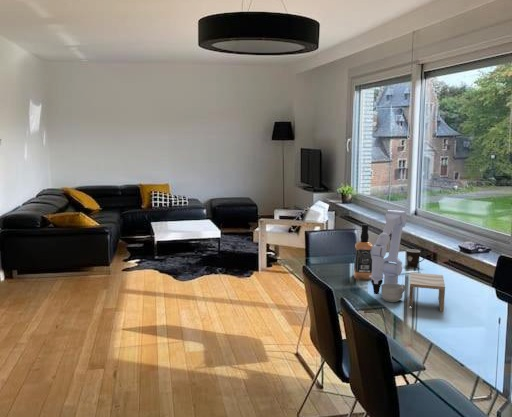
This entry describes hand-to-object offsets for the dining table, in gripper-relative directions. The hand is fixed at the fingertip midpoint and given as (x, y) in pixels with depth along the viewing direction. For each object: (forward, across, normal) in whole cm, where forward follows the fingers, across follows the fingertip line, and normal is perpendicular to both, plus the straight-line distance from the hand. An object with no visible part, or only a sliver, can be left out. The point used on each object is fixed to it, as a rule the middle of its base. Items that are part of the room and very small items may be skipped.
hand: (376, 293), depth 269 cm
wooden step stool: (+2, 0, +24) cm, 25 cm away
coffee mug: (+3, -75, +18) cm, 77 cm away
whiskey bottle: (+3, -38, -11) cm, 40 cm away
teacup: (+3, 0, +9) cm, 9 cm away
